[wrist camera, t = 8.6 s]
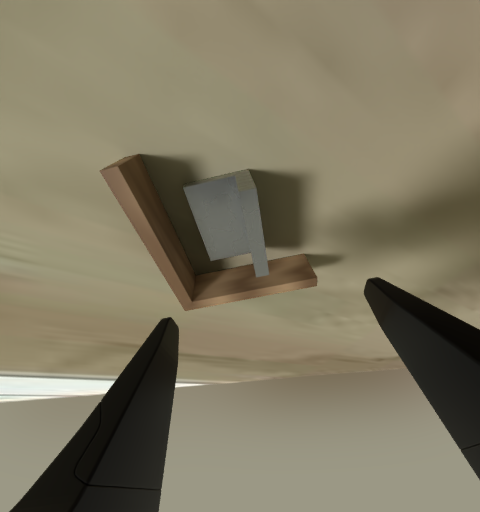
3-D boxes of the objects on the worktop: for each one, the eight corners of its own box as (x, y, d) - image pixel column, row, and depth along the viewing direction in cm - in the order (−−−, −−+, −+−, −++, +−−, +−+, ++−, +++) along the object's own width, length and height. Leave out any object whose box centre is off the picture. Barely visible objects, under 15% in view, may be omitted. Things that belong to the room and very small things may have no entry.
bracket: (260, 243, 22) (269, 274, 18) (211, 254, 22) (209, 286, 18) (247, 168, 17) (256, 187, 13) (185, 183, 17) (174, 206, 13)
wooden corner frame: (305, 113, 14) (328, 115, 11) (303, 261, 23) (316, 285, 20) (124, 157, 15) (99, 170, 12) (189, 284, 24) (185, 310, 21)
